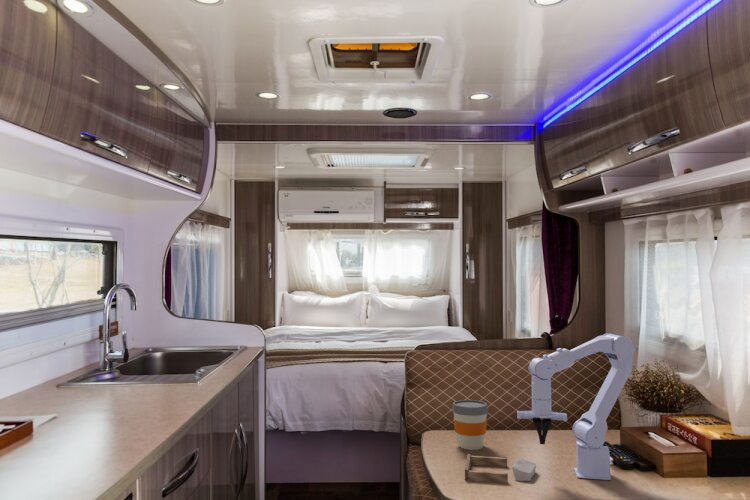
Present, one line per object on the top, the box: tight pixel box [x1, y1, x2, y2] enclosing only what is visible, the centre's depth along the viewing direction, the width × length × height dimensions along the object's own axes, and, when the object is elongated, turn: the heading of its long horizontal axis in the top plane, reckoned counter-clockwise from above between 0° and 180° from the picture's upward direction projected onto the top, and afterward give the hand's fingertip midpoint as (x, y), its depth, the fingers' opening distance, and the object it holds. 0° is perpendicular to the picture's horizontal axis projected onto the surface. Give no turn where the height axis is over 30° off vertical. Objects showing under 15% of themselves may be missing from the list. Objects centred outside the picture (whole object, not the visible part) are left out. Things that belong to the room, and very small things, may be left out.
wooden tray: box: [464, 453, 509, 484], centre depth 171 cm, size 12×15×3 cm
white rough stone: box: [511, 457, 537, 482], centre depth 169 cm, size 10×6×6 cm, turn 148°
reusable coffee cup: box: [452, 399, 489, 451], centre depth 199 cm, size 12×13×15 cm
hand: (542, 443), depth 168 cm, fingers closed
